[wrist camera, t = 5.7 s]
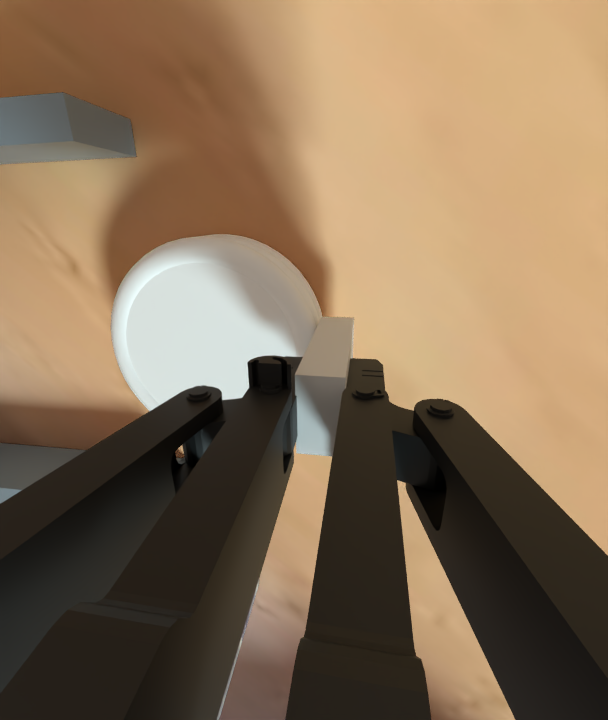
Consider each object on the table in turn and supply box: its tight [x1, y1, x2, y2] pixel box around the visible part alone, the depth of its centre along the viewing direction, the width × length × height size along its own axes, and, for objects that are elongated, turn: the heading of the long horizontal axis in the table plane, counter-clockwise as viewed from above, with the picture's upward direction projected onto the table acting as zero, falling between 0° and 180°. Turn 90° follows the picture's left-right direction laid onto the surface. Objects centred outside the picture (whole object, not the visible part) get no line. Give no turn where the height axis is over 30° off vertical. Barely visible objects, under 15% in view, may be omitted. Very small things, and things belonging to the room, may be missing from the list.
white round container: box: [111, 234, 322, 411], centre depth 18 cm, size 10×10×4 cm
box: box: [0, 92, 182, 503], centre depth 20 cm, size 20×16×4 cm
